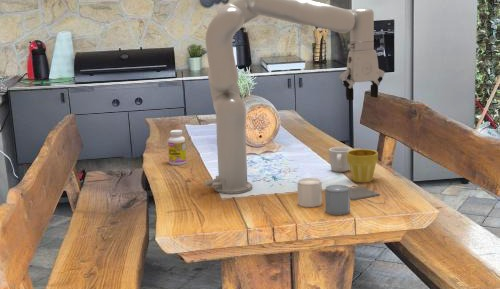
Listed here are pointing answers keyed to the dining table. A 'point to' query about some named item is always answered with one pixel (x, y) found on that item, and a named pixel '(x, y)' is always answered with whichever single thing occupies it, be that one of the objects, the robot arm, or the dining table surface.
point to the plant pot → (362, 164)
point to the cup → (339, 159)
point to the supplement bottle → (177, 148)
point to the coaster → (361, 193)
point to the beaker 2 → (337, 199)
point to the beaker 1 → (309, 192)
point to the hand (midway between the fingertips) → (362, 98)
